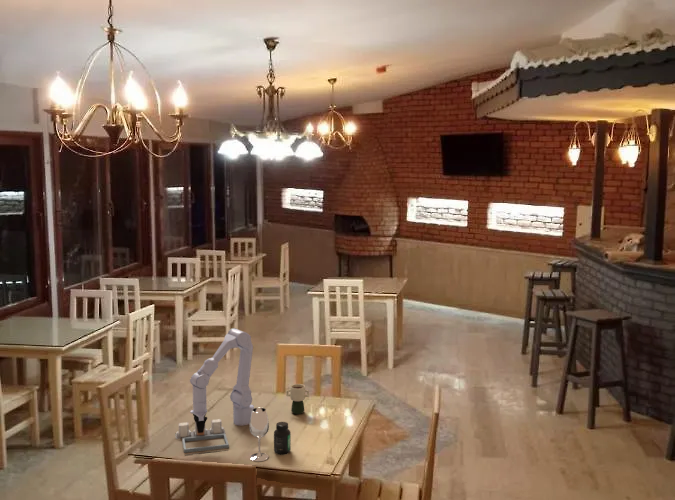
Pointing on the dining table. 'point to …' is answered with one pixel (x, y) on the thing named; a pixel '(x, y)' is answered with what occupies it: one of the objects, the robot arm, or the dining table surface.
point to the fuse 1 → (183, 429)
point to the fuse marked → (197, 430)
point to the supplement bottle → (282, 439)
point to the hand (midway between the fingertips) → (200, 430)
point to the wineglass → (259, 430)
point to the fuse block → (193, 434)
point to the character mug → (297, 397)
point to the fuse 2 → (216, 426)
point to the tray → (205, 446)
